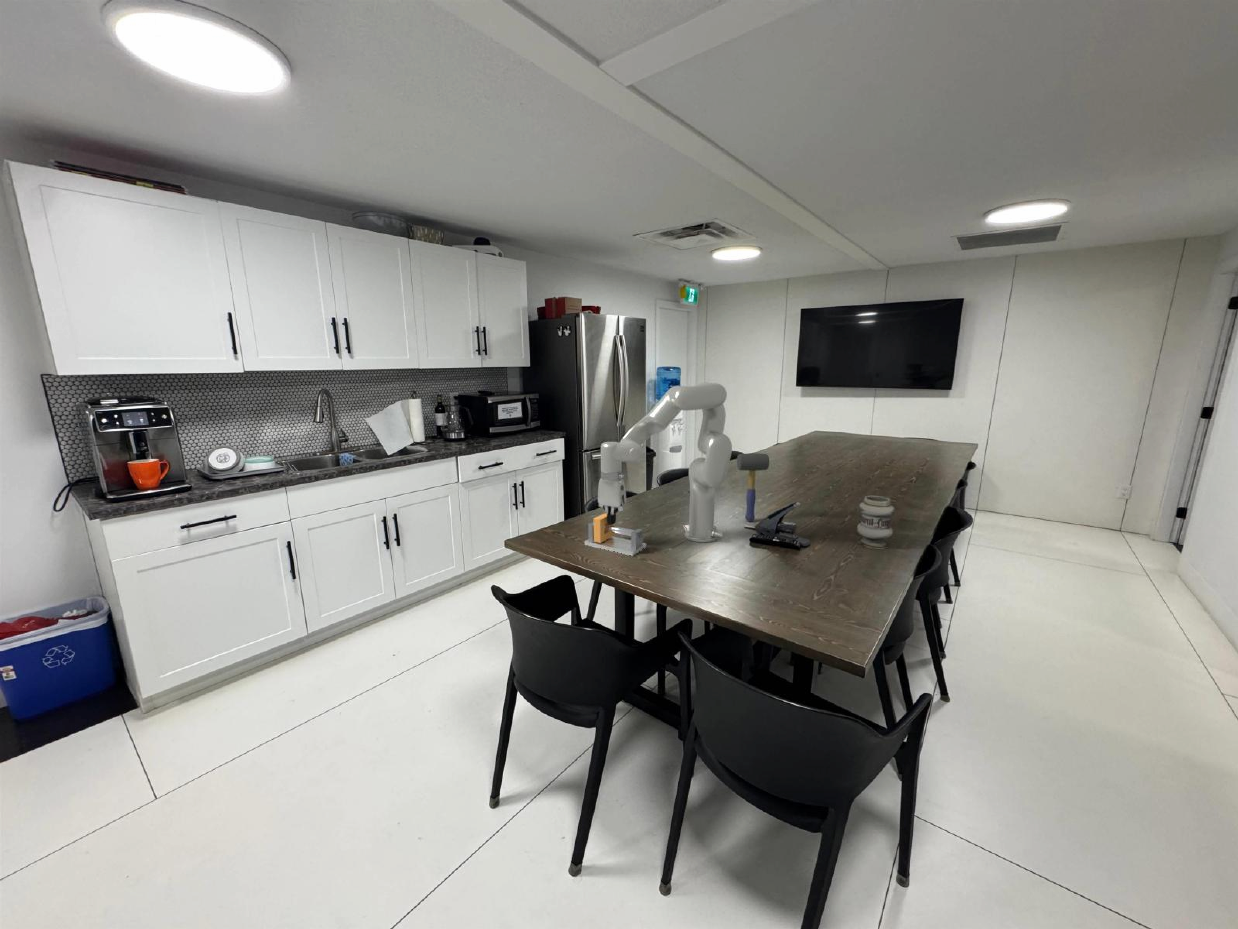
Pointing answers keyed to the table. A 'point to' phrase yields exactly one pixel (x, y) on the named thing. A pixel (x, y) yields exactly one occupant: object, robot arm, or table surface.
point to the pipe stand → (618, 540)
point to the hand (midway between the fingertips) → (611, 523)
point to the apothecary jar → (875, 521)
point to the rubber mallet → (752, 477)
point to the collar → (601, 529)
